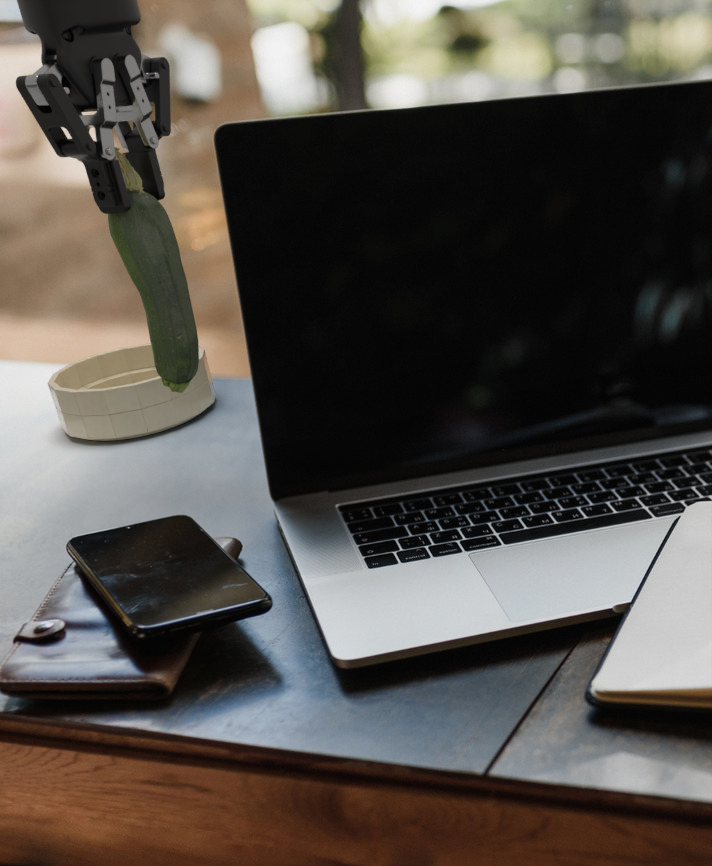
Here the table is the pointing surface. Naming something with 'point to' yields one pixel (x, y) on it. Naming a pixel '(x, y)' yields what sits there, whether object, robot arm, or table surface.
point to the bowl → (125, 395)
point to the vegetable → (157, 280)
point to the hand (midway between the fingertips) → (133, 205)
